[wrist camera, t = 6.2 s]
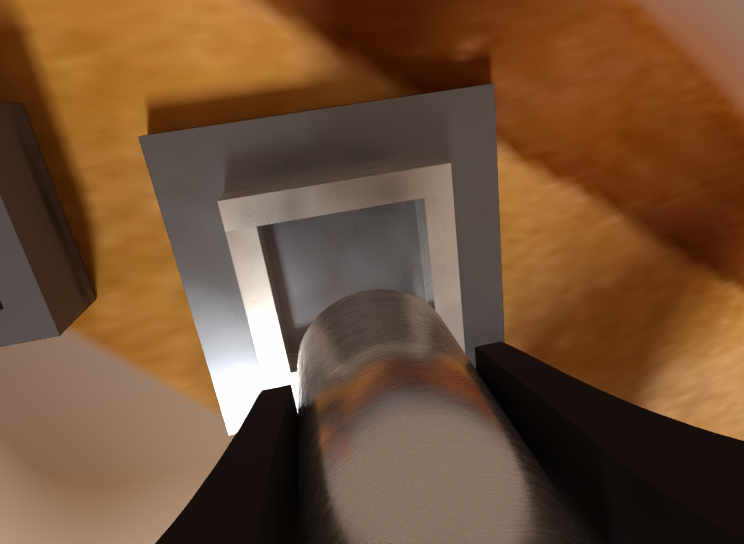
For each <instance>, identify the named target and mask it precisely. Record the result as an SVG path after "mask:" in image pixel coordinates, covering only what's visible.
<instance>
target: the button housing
mask: <svg viewBox="0 0 744 544" xmlns="http://www.w3.org/2000/svg"><path fill="white" fill-rule="evenodd" d="M95 300H96V296H95V294H94V291H93V289H92V286H91V283H90V281H89V278H88V275H87V273H86V270H85V267H84V265H83V262H82V260H81V257H80V254H79V252H78V249H77V246H76V244H75V241H74V239H73V236H72V233H71V231H70V228H69V225H68V223H67V220H66V217H65V215H64V212H63V210H62V207H61V204H60V202H59V199H58V196H57V194H56V191H55V188H54V186H53V183H52V181H51V178H50V175H49V173H48V170H47V167H46V165H45V162H44V160H43V157H42V154H41V152H40V149H39V146H38V144H37V141H36V138H35V136H34V133H33V131H32V128H31V125H30V123H29V120H28V117H27V115H26V112H25V109H24V107H23V104H22V103H7V104H0V347H2V346H7V345H13V344H18V343H24V342H29V341H35V340H40V339H46V338H51V337H56V336H60V335H61V334H62V333H63V332H64V331H65V330H66V329H67V328H68V327H69V326H70V325H71V324H72V323H73V322H74V321H75V320H76V319H77V318H78V317H79V316H80V315H81V314H82V313H83V312H84V311H85V310H86V309H87V308H88V307H89V306H90V305H91V304H92V303H93V302H94V301H95Z"/></svg>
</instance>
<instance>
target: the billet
mask: <svg viewBox="0 0 744 544" xmlns="http://www.w3.org/2000/svg"><path fill="white" fill-rule="evenodd" d="M297 376H298V474H299V544H593V543H592V541H591V540H590V538H589V537H588V535H587V534H586V532H585V531H584V529H583V528H582V526H581V525H580V523H579V522H578V521H577V519H576V518H575V516H574V515H573V513H572V512H571V510H570V509H569V507H568V506H567V504H566V503H565V501H564V500H563V498H562V497H561V495H560V494H559V492H558V491H557V489H556V488H555V486H554V485H553V483H552V482H551V480H550V479H549V477H548V476H547V474H546V473H545V471H544V470H543V468H542V467H541V465H540V464H539V463H538V461H537V460H536V458H535V457H534V455H533V454H532V452H531V451H530V449H529V448H528V446H527V445H526V443H525V442H524V440H523V439H522V437H521V436H520V434H519V433H518V431H517V430H516V428H515V427H514V425H513V424H512V422H511V421H510V419H509V418H508V416H507V415H506V413H505V412H504V410H503V409H502V408H501V406H500V405H499V403H498V402H497V400H496V399H495V397H494V396H493V394H492V393H491V391H490V390H489V388H488V387H487V385H486V384H485V382H484V381H483V379H482V378H481V376H480V375H479V373H478V372H477V370H476V369H475V367H474V366H473V364H472V363H471V361H470V360H469V358H468V357H467V355H466V354H465V353H464V351H463V350H462V348H461V347H460V345H459V344H458V342H457V341H456V339H455V338H454V336H453V335H452V333H451V332H450V330H449V329H448V327H447V326H446V324H445V323H444V321H443V320H442V318H441V317H440V316H439V315H438V313H437V312H436V311H435V310H434V309H433V308H432V307H431V306H430V305H429V304H427V303H426V302H424V301H423V300H421V299H419V298H417V297H415V296H413V295H411V294H408V293H405V292H402V291H397V290H390V289H373V290H366V291H361V292H357V293H354V294H351V295H349V296H346V297H344V298H342V299H340V300H338V301H336V302H335V303H333V304H331V305H330V306H329V307H328V308H326V309H325V310H324V311H322V312H321V313H320V314H319V315H318V316H317V318H316V319H315V320H314V321H313V322H312V324H311V325H310V326H309V328H308V330H307V331H306V333H305V335H304V337H303V340H302V342H301V345H300V349H299V353H298V362H297Z"/></svg>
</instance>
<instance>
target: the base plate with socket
mask: <svg viewBox="0 0 744 544" xmlns="http://www.w3.org/2000/svg"><path fill="white" fill-rule="evenodd" d="M138 138H139V141H140V144H141V148H142V151H143V154H144V157H145V161H146V164H147V167H148V171H149V174H150V177H151V180H152V184H153V187H154V190H155V194H156V197H157V200H158V204H159V207H160V210H161V213H162V217H163V220H164V223H165V227H166V230H167V233H168V236H169V240H170V243H171V246H172V250H173V253H174V256H175V259H176V263H177V266H178V269H179V273H180V276H181V279H182V283H183V286H184V289H185V292H186V296H187V299H188V302H189V306H190V309H191V312H192V315H193V319H194V322H195V325H196V329H197V332H198V335H199V338H200V342H201V345H202V348H203V352H204V355H205V358H206V362H207V365H208V368H209V371H210V375H211V378H212V381H213V385H214V388H215V391H216V394H217V398H218V401H219V404H220V408H221V411H222V414H223V417H224V421H225V424H226V427H227V431H228V434H229V435H232V434H236V433H237V431H238V430H239V428H240V426H241V425H242V423H243V421H244V419H245V418H246V416H247V414H248V413H249V411H250V409H251V407H252V405H253V404H254V402H255V400H256V398H257V397H258V395H259V394H260V392H261V391H262V390H265V389H270V388H275V387H280V386H285V385H289V384H291V387H292V391H293V395H294V400H295V404H296V408H297V412H298V376H297V362H298V353H299V349H300V345H301V342H302V340H303V337H304V335H305V333H306V331H307V330H308V328H309V326H310V325H311V324H312V322H313V321H314V320H315V319H316V318H317V316H318V315H319V314H320V313H321V312H322V311H324V310H325V309H326V308H328V307H329V306H330V305H331V304H333V303H335V302H336V301H338V300H340V299H342V298H344V297H346V296H349V295H351V294H354V293H357V292H361V291H366V290H373V289H390V290H397V291H402V292H405V293H408V294H411V295H413V296H415V297H417V298H419V299H421V300H423V301H424V302H426V303H427V304H429V305H430V306H431V307H432V308H433V309H434V310H435V311H436V312H437V313H438V315H439V316H440V317H441V318H442V320H443V321H444V323H445V324H446V326H447V327H448V329H449V330H450V332H451V333H452V335H453V336H454V338H455V339H456V341H457V342H458V344H459V345H460V347H461V348H462V350H463V351H464V353H465V354H466V355H467V357H468V358H469V360H470V361H471V363H472V364H473V366H474V367H475V369H476V361H475V347H476V346H481V345H486V344H491V343H496V342H503V343H505V341H504V316H503V292H502V267H501V242H500V218H499V193H498V168H497V144H496V119H495V94H494V84H483V85H476V86H470V87H463V88H456V89H449V90H443V91H436V92H429V93H423V94H416V95H409V96H402V97H396V98H389V99H382V100H376V101H369V102H362V103H355V104H349V105H342V106H335V107H329V108H322V109H315V110H308V111H302V112H295V113H288V114H282V115H275V116H268V117H261V118H255V119H248V120H241V121H235V122H228V123H221V124H214V125H208V126H201V127H194V128H188V129H181V130H174V131H167V132H161V133H154V134H147V135H143V136H139V137H138Z"/></svg>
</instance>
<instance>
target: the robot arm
mask: <svg viewBox="0 0 744 544" xmlns="http://www.w3.org/2000/svg"><path fill="white" fill-rule="evenodd" d="M475 361H476V370H477V372H478V373H479V375H480V376H481V378H482V379H483V381H484V382H485V384H486V385H487V387H488V388H489V390H490V391H491V393H492V394H493V396H494V397H495V399H496V400H497V402H498V403H499V405H500V406H501V408H502V409H503V410H504V412H505V413H506V415H507V416H508V418H509V419H510V421H511V422H512V424H513V425H514V427H515V428H516V430H517V431H518V433H519V434H520V436H521V437H522V439H523V440H524V442H525V443H526V445H527V446H528V448H529V449H530V451H531V452H532V454H533V455H534V457H535V458H536V460H537V461H538V463H539V464H540V465H541V467H542V468H543V470H544V471H545V473H546V474H547V476H548V477H549V479H550V480H551V482H552V483H553V485H554V486H555V488H556V489H557V491H558V492H559V494H560V495H561V497H562V498H563V500H564V501H565V503H566V504H567V506H568V507H569V509H570V510H571V512H572V513H573V515H574V516H575V518H576V519H577V521H578V522H579V523H580V525H581V526H582V528H583V529H584V531H585V532H586V534H587V535H588V537H589V538H590V540H591V541H592V543H593V544H744V441H742V440H738V439H735V438H731V437H727V436H724V435H720V434H717V433H714V432H710V431H707V430H704V429H701V428H698V427H695V426H692V425H689V424H686V423H683V422H680V421H677V420H674V419H672V418H669V417H666V416H663V415H660V414H657V413H655V412H652V411H649V410H647V409H644V408H642V407H639V406H636V405H634V404H631V403H629V402H627V401H624V400H622V399H620V398H617V397H615V396H613V395H610V394H608V393H606V392H603V391H601V390H599V389H597V388H595V387H592V386H590V385H588V384H586V383H584V382H582V381H580V380H578V379H575V378H573V377H571V376H569V375H567V374H565V373H563V372H561V371H559V370H557V369H555V368H553V367H551V366H549V365H547V364H545V363H544V362H542V361H540V360H538V359H536V358H534V357H532V356H530V355H528V354H526V353H524V352H522V351H520V350H518V349H516V348H514V347H512V346H510V345H508V344H506V343H503V342H496V343H491V344H486V345H481V346H476V347H475ZM155 544H299V474H298V412H297V408H296V404H295V400H294V395H293V391H292V387H291V384H289V385H285V386H280V387H275V388H270V389H265V390H262V391H261V392H260V394H259V395H258V397H257V398H256V400H255V402H254V404H253V405H252V407H251V409H250V411H249V413H248V414H247V416H246V418H245V419H244V421H243V423H242V425H241V426H240V428H239V430H238V431H237V433H236V435H235V436H234V438H233V439H232V441H231V443H230V444H229V446H228V447H227V449H226V450H225V452H224V453H223V455H222V457H221V458H220V460H219V461H218V463H217V464H216V466H215V467H214V469H213V470H212V471H211V473H210V474H209V475H208V477H207V478H206V480H205V481H204V483H203V484H202V485H201V487H200V488H199V489H198V491H197V492H196V494H195V495H194V497H193V498H192V499H191V500H190V502H189V503H188V504H187V506H186V507H185V508H184V510H183V511H182V512H181V514H180V515H179V516H178V517H177V518H176V520H175V521H174V522H173V523H172V525H171V526H170V527H169V528H168V530H166V532H165V533H164V534H163V535H162V536H161V537H160V539H159V540H158V541H157V542H156V543H155Z"/></svg>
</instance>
